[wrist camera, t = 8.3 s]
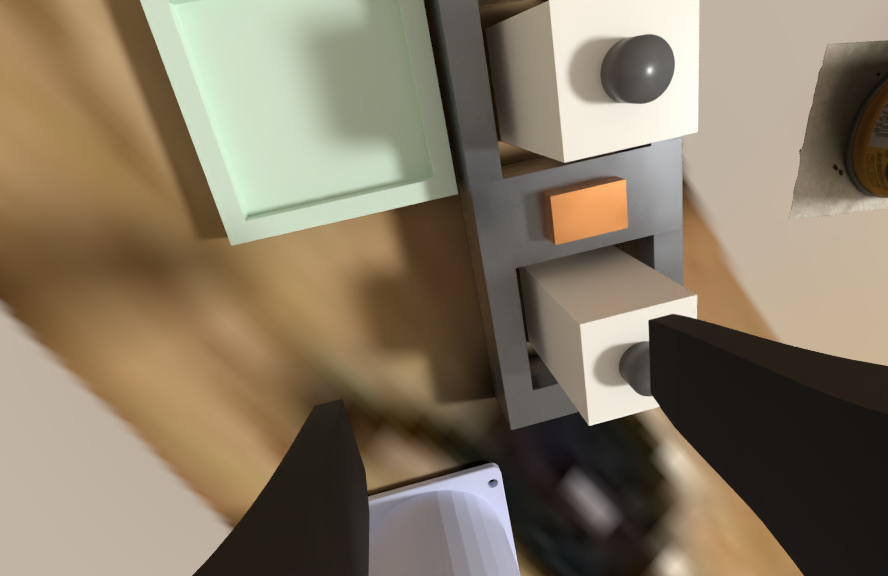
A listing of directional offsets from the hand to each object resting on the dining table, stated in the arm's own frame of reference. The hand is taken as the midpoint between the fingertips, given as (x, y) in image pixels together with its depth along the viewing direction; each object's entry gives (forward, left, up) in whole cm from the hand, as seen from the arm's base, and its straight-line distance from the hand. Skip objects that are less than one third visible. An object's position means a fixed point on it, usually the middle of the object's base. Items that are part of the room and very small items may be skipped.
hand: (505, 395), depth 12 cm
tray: (+7, +3, -10) cm, 13 cm away
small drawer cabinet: (+1, -5, -10) cm, 12 cm away
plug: (+6, -5, -10) cm, 13 cm away
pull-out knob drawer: (-3, -5, -11) cm, 12 cm away
